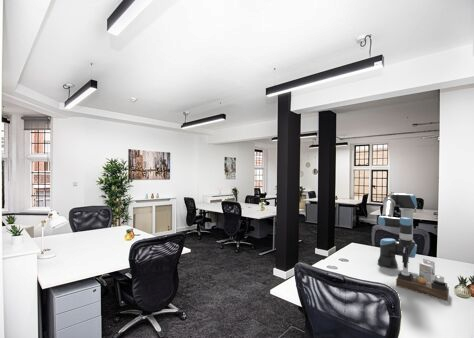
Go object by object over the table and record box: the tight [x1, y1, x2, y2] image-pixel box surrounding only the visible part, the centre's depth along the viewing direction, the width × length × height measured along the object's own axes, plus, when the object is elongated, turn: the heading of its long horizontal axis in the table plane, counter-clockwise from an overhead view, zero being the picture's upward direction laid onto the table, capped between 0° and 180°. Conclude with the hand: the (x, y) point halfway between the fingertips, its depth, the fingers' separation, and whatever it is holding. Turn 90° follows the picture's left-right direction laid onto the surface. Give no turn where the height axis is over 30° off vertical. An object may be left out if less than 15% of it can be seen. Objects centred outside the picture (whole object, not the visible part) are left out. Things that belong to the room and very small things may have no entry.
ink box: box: [418, 258, 436, 283], centre depth 188 cm, size 9×5×15 cm, turn 23°
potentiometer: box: [417, 277, 427, 284], centre depth 170 cm, size 4×4×3 cm
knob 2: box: [435, 274, 445, 284], centre depth 163 cm, size 5×5×4 cm
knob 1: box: [401, 270, 411, 277], centre depth 176 cm, size 5×5×4 cm
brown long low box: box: [395, 270, 450, 302], centre depth 170 cm, size 12×28×8 cm, turn 45°
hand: (405, 271), depth 176 cm, fingers closed
